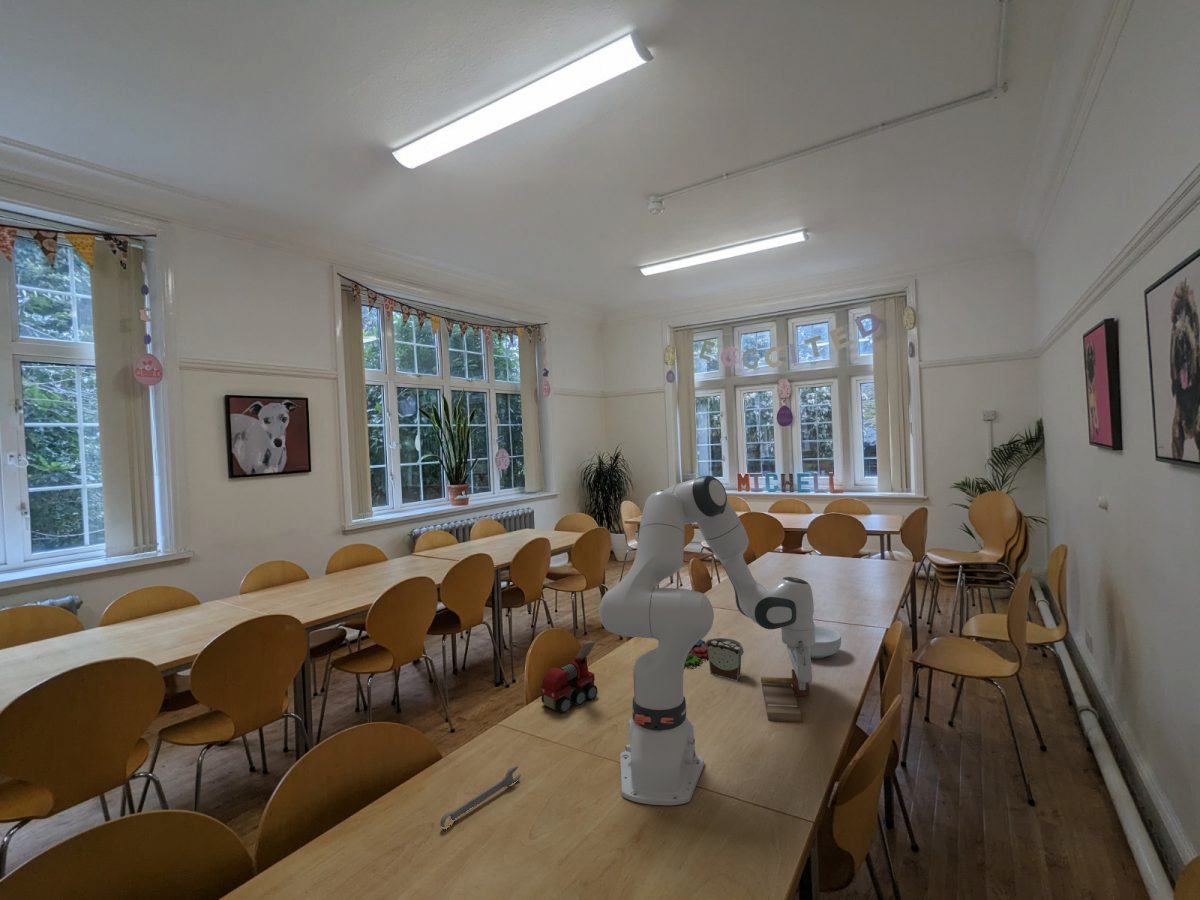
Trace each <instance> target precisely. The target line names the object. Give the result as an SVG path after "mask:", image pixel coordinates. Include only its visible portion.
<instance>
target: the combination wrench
mask: <svg viewBox="0 0 1200 900" xmlns="http://www.w3.org/2000/svg"><path fill="white" fill-rule="evenodd" d="M518 768H519V766H518V765H515V766H513V767H510V768H509V769H508V770H507V772H506V774H505V776H503V778H502V779H501V780H500V781H497V782H496V783H495V784H493V785H492V786H490V787H489V788H487V789H485V790H483V791H482V792H480V793H479V794H478V795H477V796H475V797H473V798H471V799H470V800H468V801H467V802H466V803H464V804H462V805H460V806H459V807H458V808H455V809H454V810H452V811H450V812H449V811H448V812H446V813H445V814H443V816H442V818H441V820H440V824H439V825H440V827H441V826H442V827H445V822H446V820H447V819H448V817H449V816H450V820H451V819H452V820H455V818H457V817H458V816H460V815H461V814H463V813H465V812H466V811H467V810H469V809H470V808H472V807H474V806H475V807H476V806H478V805H480V804H481V803H482V802H484V801H485V800H487V799H488V798H490V797H491V796H493V795H494V794H495V793H497V792H499V791H500V790H502V789H504V788H506V787H510V786H509V785H511V784H512V783H514V782H516V781H517V780H518V781H520V778H521V773H519V774H518V775H516V776H515V777H514V778H513V776H514V775H513V774H514V773H515V772H516V770H518ZM477 804H478V805H477ZM475 807H474V808H475ZM472 809H473V808H472ZM469 811H470V810H469ZM466 813H467V812H466ZM466 813H465V814H466ZM463 815H464V814H463ZM460 817H461V816H460Z"/></svg>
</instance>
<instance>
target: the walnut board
mask: <svg viewBox="0 0 1200 900" xmlns="http://www.w3.org/2000/svg"><path fill="white" fill-rule="evenodd" d="M761 691H762V696H763V700H764V706H765V710H766V712H765V713H766V717H767V720H768V721H771V722H772V721H774V722H775V721H777V722H790V723H792V722H796V723H802V713H801V710H800V707H799V704H798V701H797V696H795V694H794V691H793V688H792V684H783V685H781V684H774V683H761Z"/></svg>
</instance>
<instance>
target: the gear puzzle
mask: <svg viewBox="0 0 1200 900" xmlns="http://www.w3.org/2000/svg"><path fill="white" fill-rule="evenodd" d="M705 645H706V640H703V639H701V640H699V641H698V642H697V643H696V644H695V645H694V646H693V647H692V649H691V650H690V652H689V653H688V655H687V658H686V660H685V664H684V667H688V668H687V669H689V668H694V667H695V668H697V665H699V664H700V665H702V664H703V663H704V662H703V661H705V662H707V661H708V660H707V659H708V650H707V647H705ZM706 660H707V661H706ZM701 663H702V664H701ZM695 664H696V665H695ZM695 668H694V669H695Z"/></svg>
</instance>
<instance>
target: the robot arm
mask: <svg viewBox="0 0 1200 900" xmlns="http://www.w3.org/2000/svg"><path fill="white" fill-rule="evenodd" d="M727 496H728V495H727V492H726V489H725V487H724V484H723V483H722V482H721V481H720V480H719V479H717V478H716V477H714V476H713V475H701V476H698V477H696V478H694V479H690V480H689V479H688V480H686V481H683V482H677V483H675V484H673V485H671V486H669V487H668V488H666V489H663V490H658V491H655V492H653V493H651V494H650V495H649V496H648V497H647V498H646V500H645V503H644V506H643V509H642V513H641V518H640V523H639V529H638V530H639V531H638V538H637V546H636V552H635V556H634V560H633V563H632V565H631V566H630V569H629V570H628V572H627V573H626V575H625V576H624V577H623V578H622V579H621V580H620V581H619V582H618V583H617V584H616V585H614V586H613V587H611V588H610V589H608V590H607V591H606V592H605V593H604V595H603V596H602V598H601V600H600V603H599V607H598V615H599V620H600V622H601V624H602V627H603V628H604V629H605V631H606V632H610V633H613V634H615V635H619V636H623V637H626V638H627V637H628V638H645V639H646V638H647V639H655V640H656V641H657V644H658V646H657V647H655V648H653V649H651V650H648V651H646V652H645V653H642V654H641V655H640V656H639V657H637V658H636V660H635V662H634V664H633V668H632V673H633V674H632V676H633V677H632V678H633V692H634V693H633V696H632V697H633V698H632V704H631V710H632V717H631V718H630V719H629V720H627V721H628V722H627V725H628V727H627V729H628V744H625V745H626V746H625V750H624V751H622V752H620V755H619V765H620V766H619V767H620V768H619V769H620V770H619V771H620V788H621V789H620V791H621V797H623V798H624V799H627V800H629V801H632V802H634V803H639V804H644V805H653V806H676V805H683V804H686V803H689V802H691V800H692V797H693V795H694V792H695V789H696V787H697V785H698V782H699V779H700V776H701V774H702V771H703V769H704V767H705V759H704V758H703V757H702V756H700V755H698V754H696V742H695V741H696V739H695V738H696V737H695V730H694V729H695V727H694V724H693V723H692V722H691V721H690V720H689V719H688V718H687V702H686V697H685V695H684V672H685V671H684V670H685V668H684V664H685V660H686V658H687V655H688V653H689V652H690V650H691V649H692V647H693V646H694V645H695V644H696V643H697V642H698V641H699V640H703V639H704V638H705V637H706V636H707V635H708V633H709V632H710V631H711V629H712V628H713V625H714V619H715V618H714V617H715V615H714V614H715V613H714V608H713V605H712V602H711V601H710V599H709V598H708V597H707V595H706V594H705V593H703V592H699V591H696V590H692V589H691V590H690V589H686V588H679V587H678V588H674V587H673V588H672V587H671V588H670V587H658V585H659V584H660V583H661V582H662V581H664V580H666V579H668V578H669V577H672V576H674V575H675V574H677V573H678V571H680V569H681V568H682V566H683V563H684V549H685V535H686V534H685V531H686V530H685V529H686V527H685V526H686V525H689V524H697V526H698V528H699V531H700V533H701V535H702V538H703V539H704V541H705V543H706V544H707V545H708V547H709V549H710V550H711V552H712V553H713V554H714V556H716V558H717V559H718V561H719V562H720V563H721V565H722V567H723V569H724V570H725V572H726V575H727V576H728V578H729V581H730V582H731V584H732V586H733V589H734V596H735V604H736V607H737V608H738V611H739V612H740V613H741V614H742V615H743V616H745V617H747V618H748V619H750V620H751V621H753V622H754V623H756V624H757V625H758V626H760V627H761V628H764V630H765V629H766V630H772V631H773V630H777V629H781V641H782V643H783V644H785V645H786V648H787V654H788V657H789V660H790V662H791V665H792V669H794V671H795V674H796V677H797V679H798V688H799V690H805V689H806V683H810V684H811V683H812V682H813V670H812V669H813V668H812V658H811V657H810V653H809V650H810V649H811V646H813V645H814V644H815V626H816V625H815V622H814V612H815V606H814V605H815V604H814V594H813V591H812V590H813V589H812V586H811V585H810V583H809V582H807V581H806V580H803V579H801V578H798V577H793V576H784V577H782V578H781V580H780V581H779V582H778V583H776V584H775V585H774V586H772V587H770V588H768V589H767V588H766V587H764V586H763V585H762V584H760V583H759V582H757V581H756V580H755V578H754V577H753V574H752V572H751V571H750V568H749V566H748V564H747V562H746V561H745V557H744V554H745V552H746V551H747V549H748V546H749V542H750V540H749V537H748V534H747V531H746V529H745V526H744V525H743V522H742V521H741V519H740V517H739V516H738V515H739V514H738V513H737V512H736V510H735V509H734V508H733V506H732V505H731V503H730V502H729V501H728V497H727Z"/></svg>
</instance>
